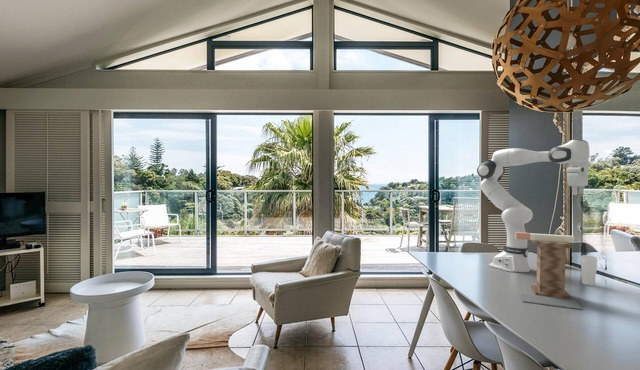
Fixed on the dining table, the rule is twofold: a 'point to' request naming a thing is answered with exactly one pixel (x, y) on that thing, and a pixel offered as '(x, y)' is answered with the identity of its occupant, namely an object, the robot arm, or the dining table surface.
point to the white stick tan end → (544, 237)
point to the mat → (550, 301)
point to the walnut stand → (551, 269)
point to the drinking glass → (588, 269)
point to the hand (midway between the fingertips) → (578, 194)
